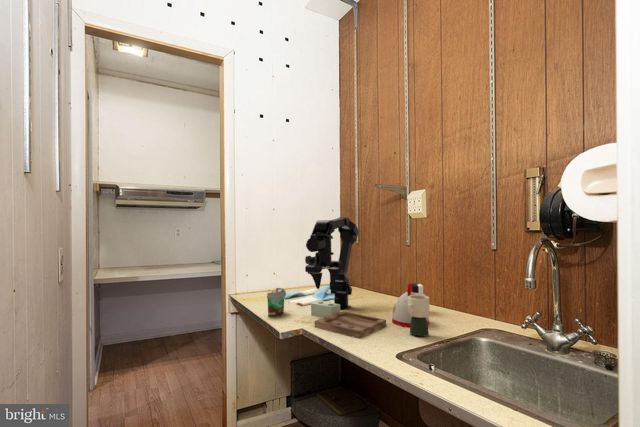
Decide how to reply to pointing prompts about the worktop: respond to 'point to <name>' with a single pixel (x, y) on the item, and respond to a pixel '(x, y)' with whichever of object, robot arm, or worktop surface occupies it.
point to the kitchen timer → (403, 310)
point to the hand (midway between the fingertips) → (325, 287)
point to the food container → (276, 302)
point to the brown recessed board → (350, 324)
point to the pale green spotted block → (324, 309)
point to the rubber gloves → (317, 296)
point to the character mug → (418, 314)
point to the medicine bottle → (417, 289)
